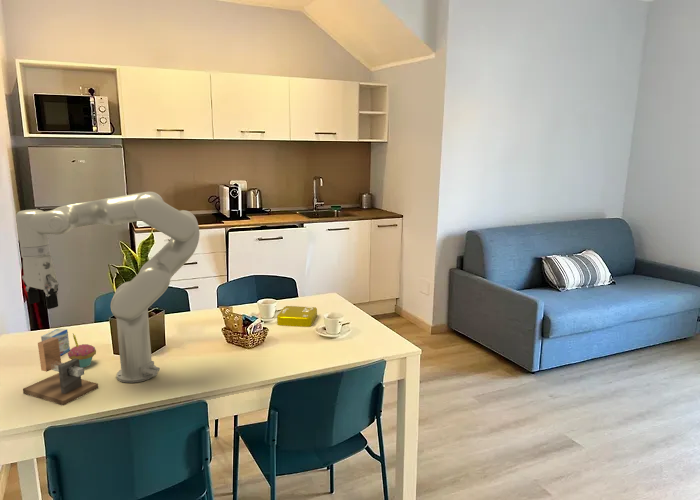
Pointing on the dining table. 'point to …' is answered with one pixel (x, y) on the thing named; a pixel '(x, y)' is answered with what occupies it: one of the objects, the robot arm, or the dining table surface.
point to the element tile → (297, 316)
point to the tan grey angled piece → (54, 357)
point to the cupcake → (82, 353)
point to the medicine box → (59, 339)
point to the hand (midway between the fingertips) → (43, 305)
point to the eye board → (55, 390)
